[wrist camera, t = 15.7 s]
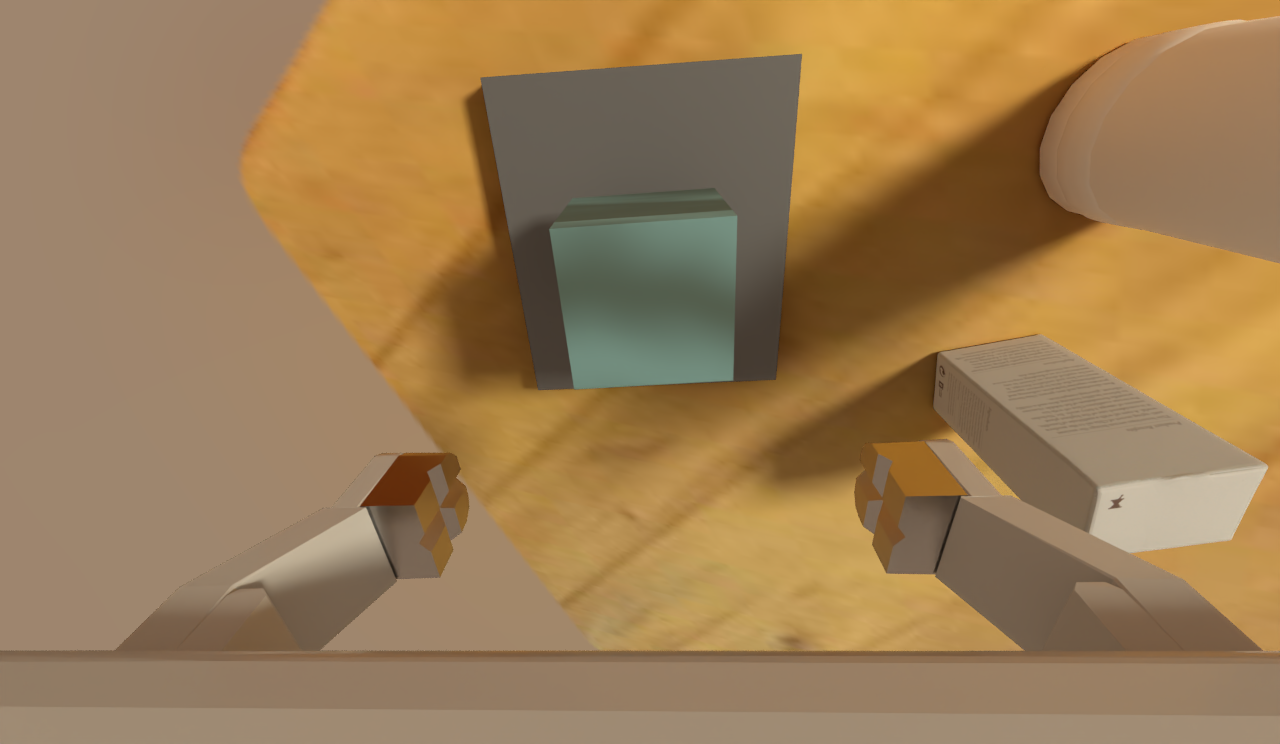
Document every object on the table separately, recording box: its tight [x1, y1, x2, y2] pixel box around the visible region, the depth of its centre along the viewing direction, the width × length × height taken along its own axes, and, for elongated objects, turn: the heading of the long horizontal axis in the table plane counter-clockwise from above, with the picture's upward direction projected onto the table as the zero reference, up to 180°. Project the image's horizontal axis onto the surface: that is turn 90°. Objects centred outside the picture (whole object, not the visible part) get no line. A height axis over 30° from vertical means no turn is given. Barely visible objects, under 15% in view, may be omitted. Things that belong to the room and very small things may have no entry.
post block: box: [481, 54, 802, 390], centre depth 22 cm, size 16×14×9 cm
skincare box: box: [933, 334, 1268, 553], centre depth 25 cm, size 6×4×12 cm
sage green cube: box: [549, 188, 737, 389], centre depth 20 cm, size 6×6×6 cm
